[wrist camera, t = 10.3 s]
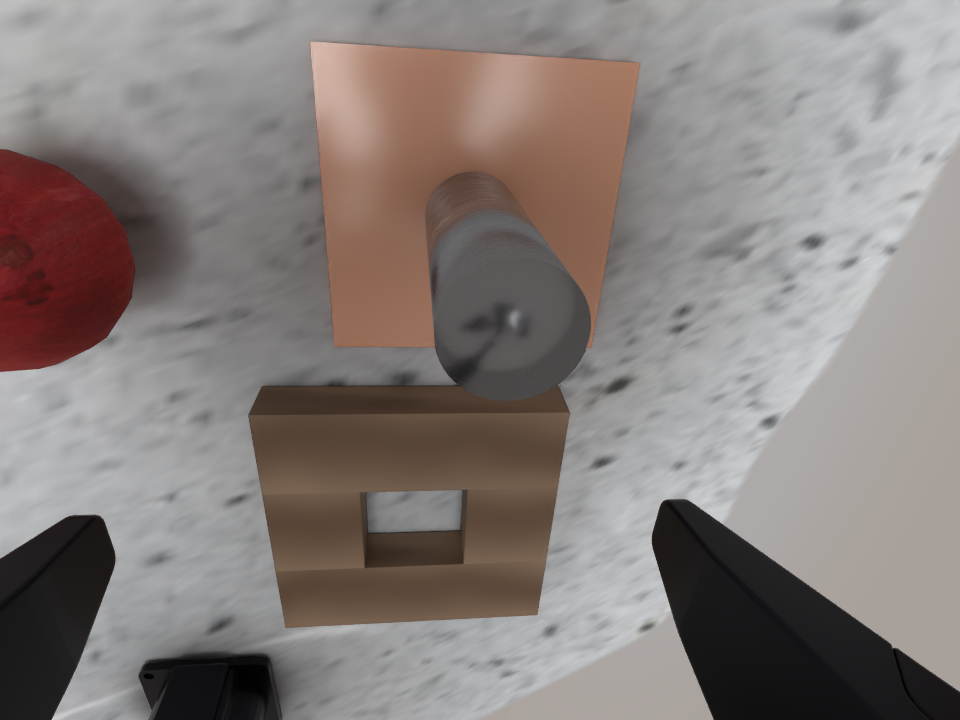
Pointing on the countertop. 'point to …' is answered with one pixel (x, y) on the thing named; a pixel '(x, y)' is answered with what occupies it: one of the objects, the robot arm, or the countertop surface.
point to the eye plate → (406, 467)
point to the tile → (458, 167)
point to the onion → (56, 265)
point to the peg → (499, 293)
